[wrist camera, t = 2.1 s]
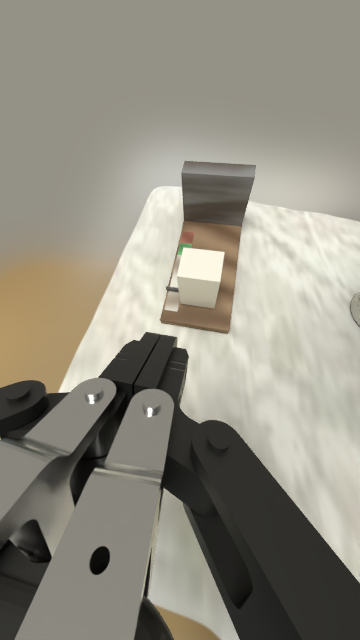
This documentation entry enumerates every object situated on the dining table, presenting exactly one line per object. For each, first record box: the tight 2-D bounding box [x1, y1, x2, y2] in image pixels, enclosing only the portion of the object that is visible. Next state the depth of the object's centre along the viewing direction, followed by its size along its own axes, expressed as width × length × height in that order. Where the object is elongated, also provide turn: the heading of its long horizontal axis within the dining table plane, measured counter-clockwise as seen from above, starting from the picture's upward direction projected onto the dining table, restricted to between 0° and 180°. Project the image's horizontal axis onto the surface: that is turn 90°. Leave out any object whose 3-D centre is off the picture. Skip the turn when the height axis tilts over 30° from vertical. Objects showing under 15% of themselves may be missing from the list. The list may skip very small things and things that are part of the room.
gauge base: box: [160, 161, 256, 333], centre depth 36 cm, size 28×12×12 cm, turn 169°
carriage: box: [166, 247, 225, 309], centre depth 33 cm, size 7×9×9 cm
